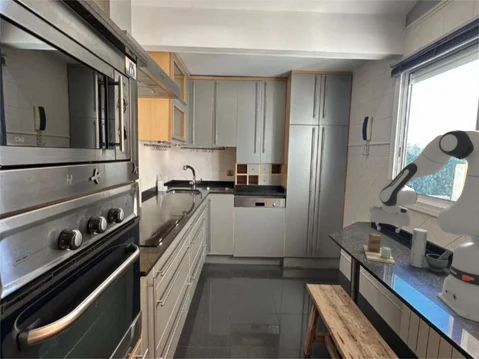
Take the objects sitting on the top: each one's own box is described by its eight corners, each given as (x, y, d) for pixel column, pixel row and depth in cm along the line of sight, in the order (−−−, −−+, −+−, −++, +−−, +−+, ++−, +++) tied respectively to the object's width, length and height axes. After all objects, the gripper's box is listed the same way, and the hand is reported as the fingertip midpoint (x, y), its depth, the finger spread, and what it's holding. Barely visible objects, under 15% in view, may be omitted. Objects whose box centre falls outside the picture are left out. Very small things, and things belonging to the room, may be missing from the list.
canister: (390, 259, 148) (391, 250, 147) (381, 258, 149) (382, 248, 149) (389, 256, 152) (390, 247, 151) (380, 255, 154) (381, 246, 153)
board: (394, 264, 145) (395, 262, 145) (366, 259, 150) (367, 257, 149) (387, 250, 165) (387, 249, 165) (363, 247, 170) (363, 245, 170)
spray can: (423, 268, 140) (428, 232, 138) (409, 265, 144) (413, 230, 142) (423, 264, 146) (427, 229, 144) (409, 261, 149) (413, 227, 147)
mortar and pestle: (427, 271, 137) (430, 249, 136) (421, 264, 146) (424, 243, 144) (453, 275, 133) (456, 253, 132) (446, 268, 142) (448, 247, 141)
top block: (380, 244, 158) (381, 236, 158) (371, 243, 159) (372, 235, 158) (376, 241, 163) (377, 233, 163) (368, 240, 164) (369, 233, 163)
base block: (379, 252, 158) (380, 244, 157) (368, 251, 160) (369, 243, 159) (378, 249, 163) (379, 241, 163) (367, 247, 166) (368, 240, 165)
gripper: (370, 206, 148) (368, 230, 150) (412, 210, 141) (409, 235, 143) (369, 204, 154) (367, 227, 156) (409, 208, 147) (406, 232, 149)
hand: (387, 231), depth 149 cm, fingers open, 8 cm apart
